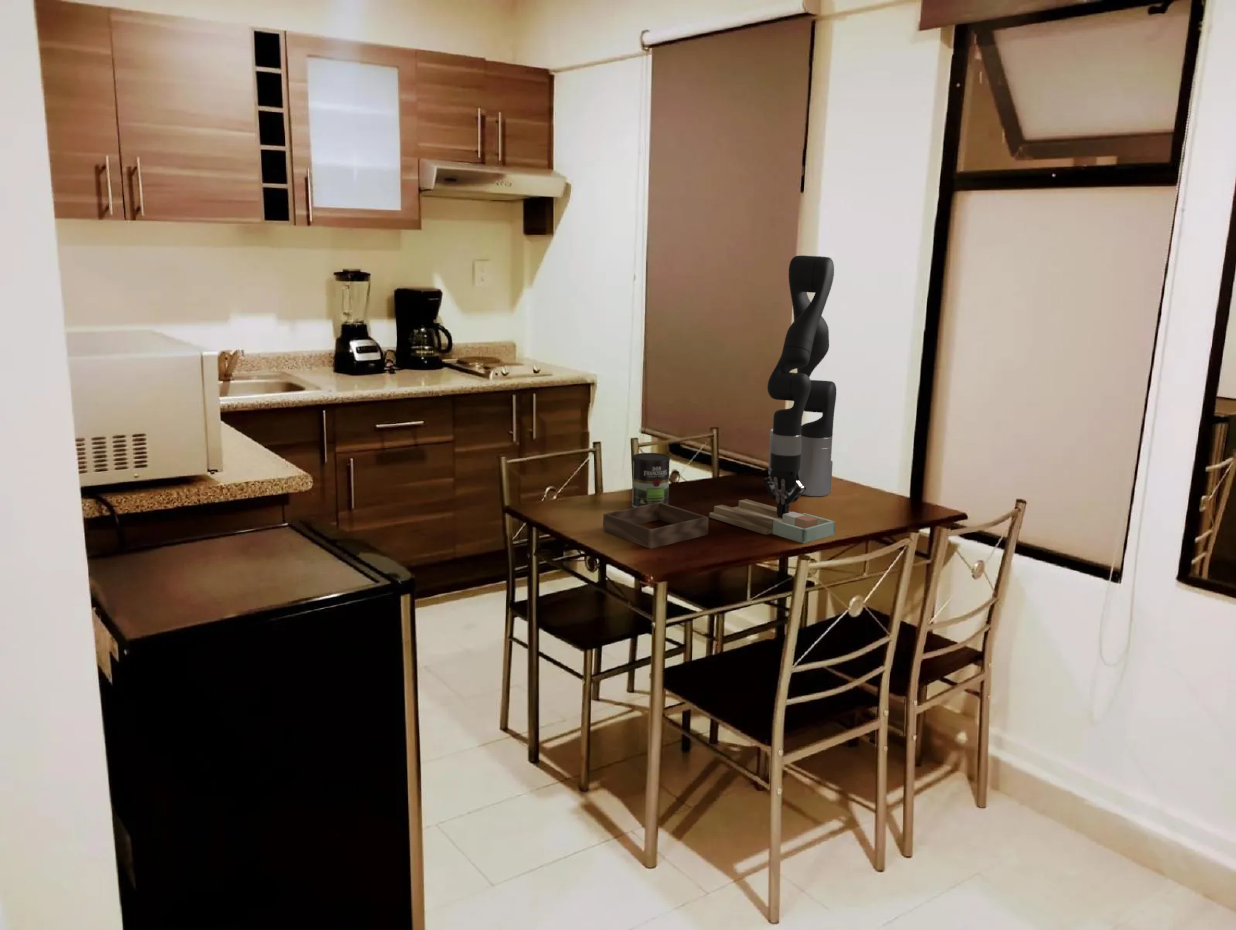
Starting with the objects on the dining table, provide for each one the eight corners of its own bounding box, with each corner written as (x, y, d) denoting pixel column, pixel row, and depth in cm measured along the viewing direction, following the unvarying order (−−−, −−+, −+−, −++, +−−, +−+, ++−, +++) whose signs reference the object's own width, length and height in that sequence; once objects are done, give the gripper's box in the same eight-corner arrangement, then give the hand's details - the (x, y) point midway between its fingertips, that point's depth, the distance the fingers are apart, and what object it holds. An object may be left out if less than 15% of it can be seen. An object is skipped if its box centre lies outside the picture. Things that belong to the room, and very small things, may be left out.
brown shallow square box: (659, 518, 249) (659, 502, 248) (707, 534, 236) (708, 517, 235) (603, 531, 238) (603, 513, 237) (650, 548, 224) (651, 530, 223)
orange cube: (804, 530, 239) (805, 515, 238) (817, 534, 236) (818, 518, 235) (794, 533, 237) (795, 517, 236) (806, 536, 234) (807, 521, 233)
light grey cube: (792, 526, 242) (793, 511, 241) (804, 530, 239) (805, 515, 238) (781, 529, 240) (782, 514, 239) (794, 533, 237) (795, 517, 236)
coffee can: (673, 509, 258) (675, 459, 255) (638, 512, 255) (638, 461, 252) (661, 500, 268) (662, 451, 265) (627, 502, 265) (627, 453, 262)
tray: (803, 525, 245) (804, 513, 244) (834, 534, 237) (835, 521, 236) (772, 533, 237) (773, 520, 236) (803, 543, 230) (804, 530, 229)
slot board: (750, 507, 261) (750, 498, 261) (807, 523, 246) (807, 513, 246) (709, 517, 251) (709, 507, 251) (765, 534, 236) (766, 524, 236)
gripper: (816, 453, 236) (812, 520, 239) (775, 445, 246) (772, 509, 249) (796, 457, 231) (792, 525, 235) (756, 448, 241) (753, 514, 245)
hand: (782, 517), depth 242 cm, fingers closed
